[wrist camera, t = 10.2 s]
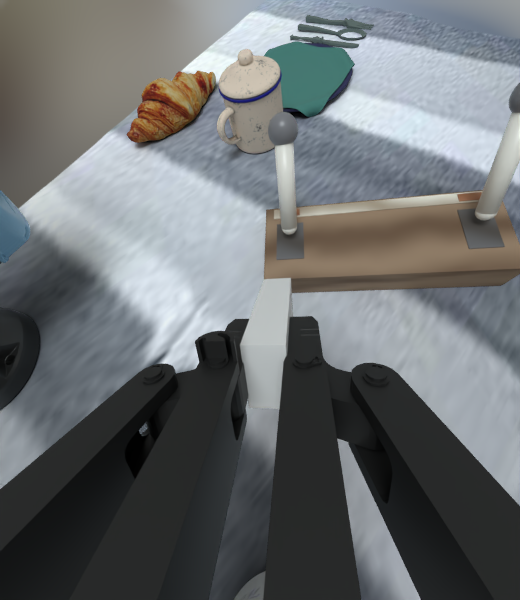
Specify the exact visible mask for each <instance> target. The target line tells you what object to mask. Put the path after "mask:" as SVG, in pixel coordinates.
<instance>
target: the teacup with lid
mask: <svg viewBox="0 0 520 600" xmlns="http://www.w3.org/2000/svg"><path fill="white" fill-rule="evenodd" d="M281 77H282V73H281V70H280V67H279V65H278V64H277V62H276V61H274V60H273V59H271V58H269V57H265V56H253V54H252V52H251V50H249V49H244V50H242V51H240V52H239V54H238V60H237V61H236V62H234V63H233V64H231V65H230V66H229V67H227V68H226V69H225V71H224V72H223V73H222V75H221V77H220V80H219V92H220V94H221V96H222V97H223V100H224V103H225V107H226V109H225V110H224V111H223V112H222V113H221V115H220V116H219V119H218V122H217V130H218V134H219V136H220V138H221V139H222V140H223V141H224V142H225V143H227V144H230V145H234V144H236V145H237V146H238V147H239V149H241V150H242V151H244V152H247V153H253V154H257V153H263V152H266V151H269V150H271V149H273V148H274V147H275V146H274V144H273V143H272V142H271V140H270V138H269V135H268V126H269V123H270V121H271V119H272V118H273V116H275V115H276V114H277V113H280V112H283V104H282V93H281V82H280V81H281ZM228 118H229V121H230V125H231V128H232V132H233V137H232V138H227V136H226V134H225V129H224V128H225V123H226V121H227V119H228Z"/></svg>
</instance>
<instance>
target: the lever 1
mask: <svg viewBox="0 0 520 600" xmlns="http://www.w3.org/2000/svg"><path fill="white" fill-rule="evenodd" d="M297 134H298V124H297V121H296V119H295V118H294V116H293V115H291V114H290V113H288V112H280V113H277V114H276V115H275V116H273V118H272V119H271V121H270V123H269V126H268V135H269V138H270V140H271V142H272V143H273V144H274V146H275V157H276V169H277V181H278V193H279V205H280V217H281V228H282V231H283V232H284V233H285V234H288V235H291V234H293V233H294V232H295V231H296V229H297V213H296V191H295V170H294V148H293V142H294V141H295V139H296V137H297Z"/></svg>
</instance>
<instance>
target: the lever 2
mask: <svg viewBox="0 0 520 600" xmlns="http://www.w3.org/2000/svg"><path fill="white" fill-rule="evenodd" d="M509 108H510V110H511V112H512V113H511V116H510V119H509V122H508V124H507V127H506V130H505V132H504V135H503V138H502V140H501V143H500V146H499V148H498V151H497V154H496V156H495V159H494V162H493V164H492V167H491V170H490V173H489V175H488V178H487V181H486V183H485V186H484V189H483V191H482V194H481V197H480V199H479V202H478V205H477V207H476V210H475V216H476V217H477V218H478V219H480V220H489V219H491V218H493V217H494V216H495V215H496V214H497V213H498V210H499V208H500V206H501V203H502V201H503V199H504V196H505V194H506V192H507V189H508V187H509V185H510V182H511V180H512V178H513V175H514V173H515V170H516V168H517V166H518V163H519V161H520V83H519V84H518V85H517V86H516V87H515V89H514V90H513V92H512V94H511V96H510V99H509Z"/></svg>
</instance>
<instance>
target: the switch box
mask: <svg viewBox="0 0 520 600" xmlns="http://www.w3.org/2000/svg"><path fill="white" fill-rule="evenodd" d="M482 191H483V190H478V191H467V192H456V193H445V194H434V195H423V196H412V197H401V198H390V199H379V200H368V201H358V202H347V203H336V204H325V205H314V206H303V207H296V213H297V229H296V231H295V232H294V233H293V234H291V235H288V234H285V233H284V232H283V231H282V228H281V217H280V209H270V210H266V238H265V267H264V279H278V278H291V290H292V293H301V292H330V291H359V290H388V289H417V288H446V287H475V286H501V285H503V284H504V283H506V282H508V281H509V280H511V279H512V278H514V277H516V276H517V275H519V274H520V244H519V242H518V239H517V236H516V234H515V231H514V229H513V226H512V224H511V221H510V218H509V216H508V213H507V211H506V208H505V206H504V203H503V201H502V203H501V206H500V208H499V210H498V213H497V214H496V215H495V216H494V217H493V218H491V219H489V220H480V219H478V218H477V217H476V216H475V210H476V207H477V205H478V202H479V199H480V197H481V194H482Z"/></svg>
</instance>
